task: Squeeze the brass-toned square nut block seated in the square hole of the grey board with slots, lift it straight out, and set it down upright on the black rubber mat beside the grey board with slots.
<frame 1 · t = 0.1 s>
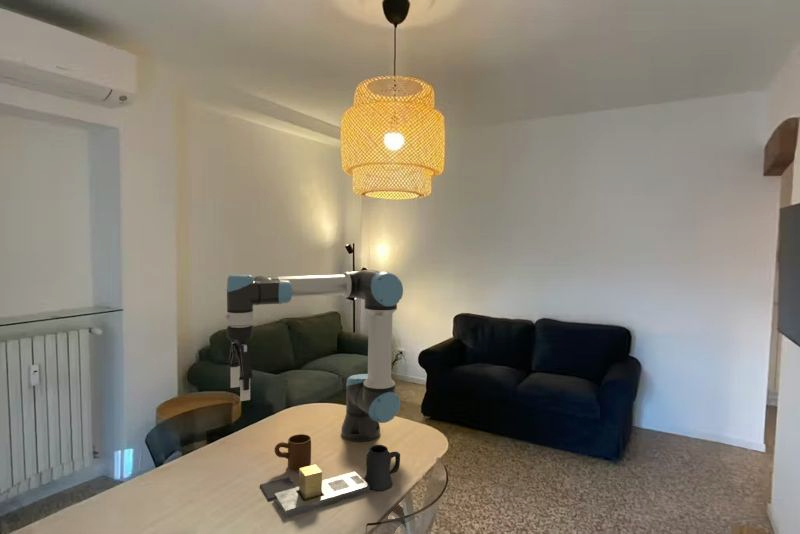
hand: (240, 393, 144), 28 cm above the table, fingers open, 13 cm apart
grey board with slots: (323, 496, 138), on the table
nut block: (310, 499, 136), resting in grey board with slots
mug: (292, 468, 155), on the table
mug 2: (381, 483, 146), on the table
rubber mat: (279, 489, 141), on the table
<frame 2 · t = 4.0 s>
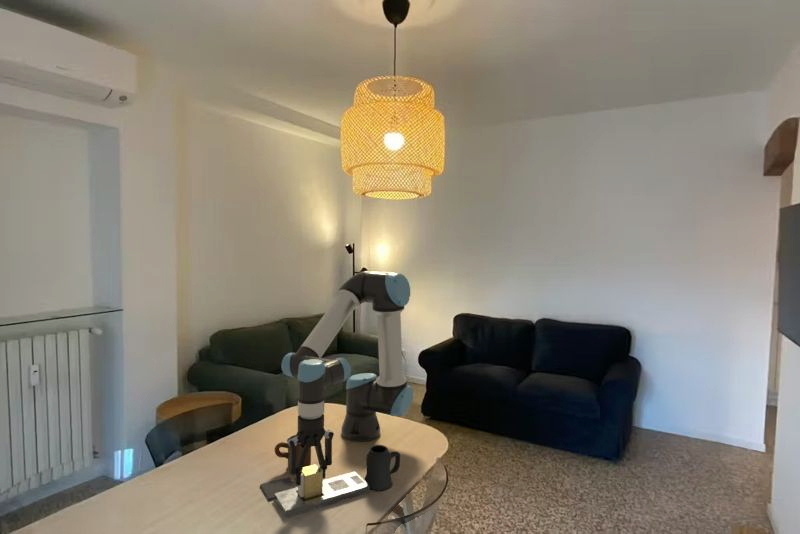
hand: (310, 492, 136), 2 cm above the table, fingers closed on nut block, 5 cm apart
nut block: (310, 499, 136), resting in grey board with slots, touching gripper
everything else where it was.
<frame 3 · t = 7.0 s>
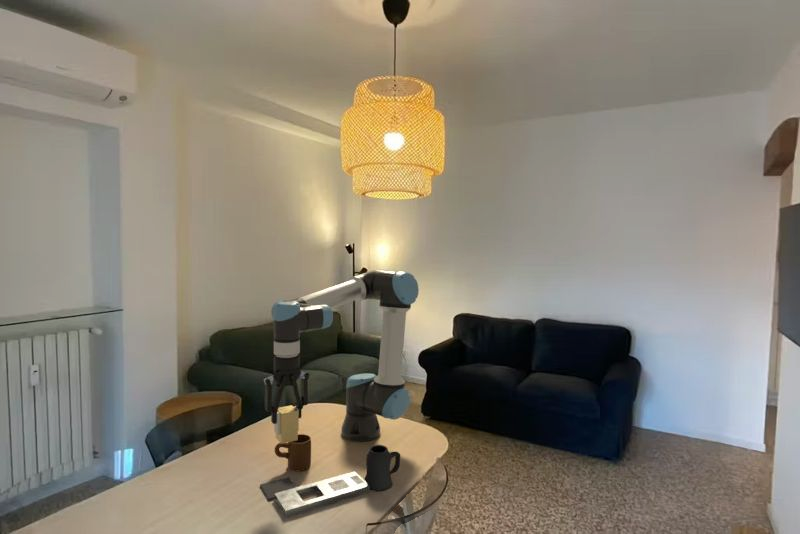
hand: (286, 431, 139), 19 cm above the table, fingers closed on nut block, 5 cm apart
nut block: (286, 438, 139), point 16 cm above the table, touching gripper
everything else where it was.
when the fingers open (4 cm above the table, at t = 10.1 s): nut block drops 1 cm, resting on rubber mat.
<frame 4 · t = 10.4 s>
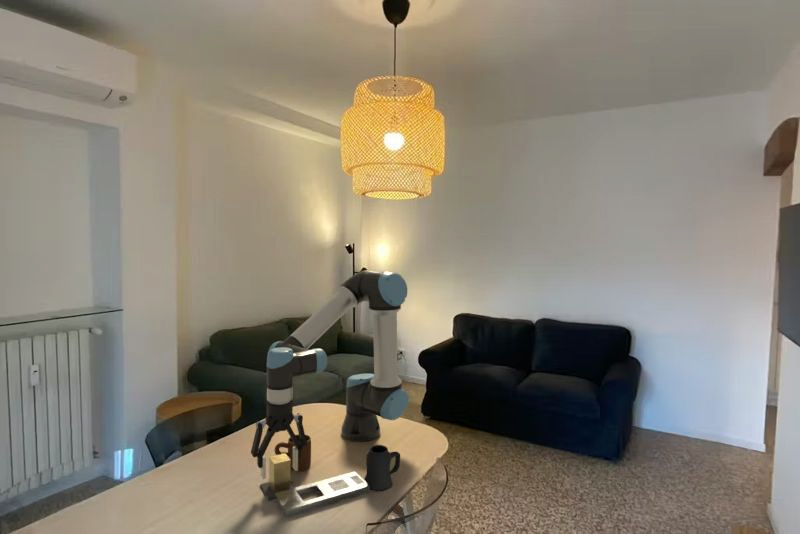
hand: (279, 472, 141), 5 cm above the table, fingers open, 9 cm apart
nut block: (279, 487, 141), point 1 cm above the table, touching rubber mat
everything else where it was.
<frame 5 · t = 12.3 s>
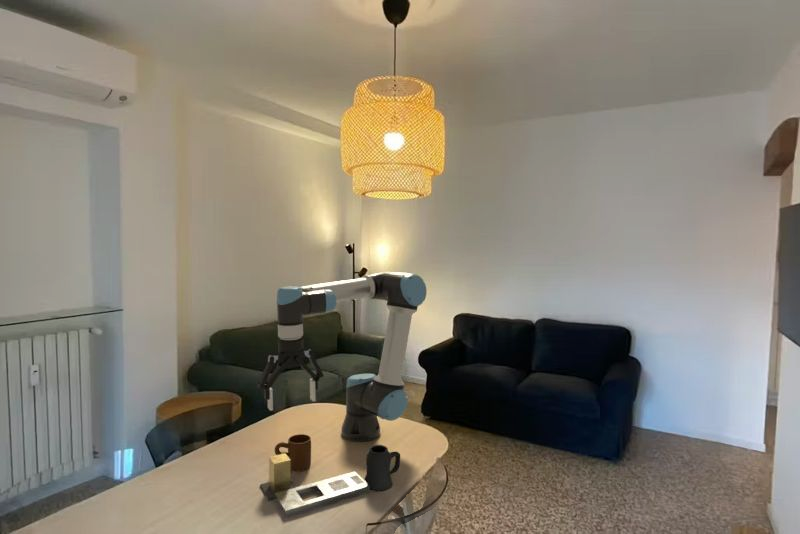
hand: (292, 404, 144), 25 cm above the table, fingers open, 13 cm apart
nothing on the table moved.
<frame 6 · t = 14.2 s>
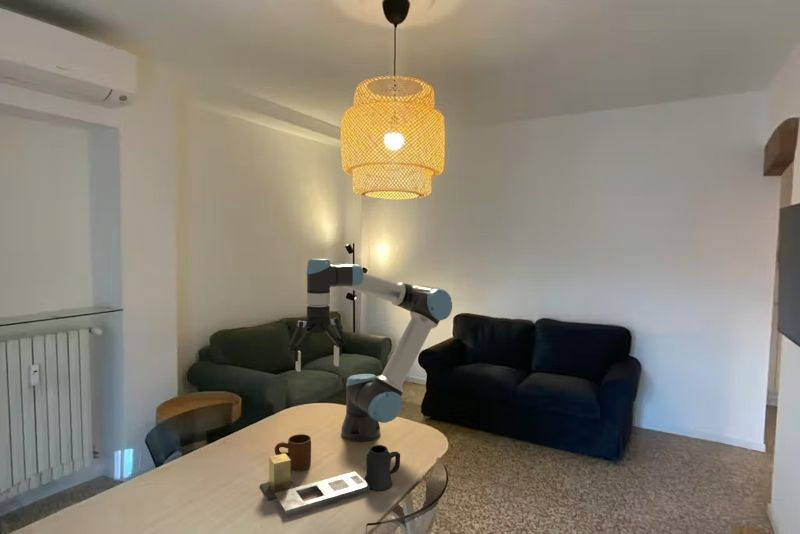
hand: (317, 368, 156), 33 cm above the table, fingers open, 13 cm apart
nothing on the table moved.
at the end: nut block inside the target area on the rubber mat (0.1 cm from its centre), point 0.6 cm above the rubber mat's base; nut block tilted 0°; the gripper is holding nothing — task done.
